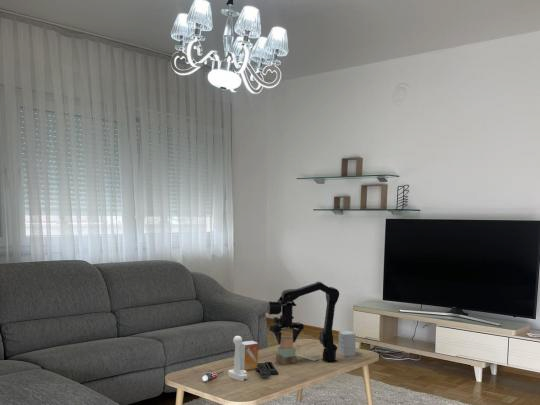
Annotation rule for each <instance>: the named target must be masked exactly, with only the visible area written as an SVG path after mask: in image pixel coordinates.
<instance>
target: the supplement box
mask: <svg viewBox="0 0 540 405" xmlns="http://www.w3.org/2000/svg"><path fill="white" fill-rule="evenodd" d="M338 354H339V355H340V354H341V355H340V356H342V357H343V356H344V357H343V358H346V356H347V357H355V356H356V333H355V332H353V331H351V330H345V331H343V330H342V331H341V330H340V331H338Z"/></svg>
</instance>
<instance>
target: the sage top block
mask: <svg viewBox="0 0 540 405" xmlns="http://www.w3.org/2000/svg"><path fill="white" fill-rule="evenodd" d="M296 350H297V349H296V348H295V347H293V348H292V349H283V348H281V347H280V346H277V354H278V355H280V356H282V357H283V358H286V357H294V356H296V353H297V352H296Z"/></svg>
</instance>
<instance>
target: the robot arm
mask: <svg viewBox="0 0 540 405" xmlns="http://www.w3.org/2000/svg"><path fill="white" fill-rule="evenodd" d="M318 291H321V292H323V293H325V300H326V309H325V317H324V325H323V330H322V331H319V336H318V340H319V343H320V344H321V345H322V347H323V351H322V358H321V361H324V362H325V363H329V364H330V363H335V362H338V360H337V350H338V346H336V344H335V343H334V334H333V324H334V316H335V308H336V304H337V303H338V300H339V297H340V290H338V289H337V288H335V287H333V286H327V285H325V284H324V283H323V282H321V281H316V282H313V283H311V284H308V285H305V286H302V287H298V288H291V289H290V288H289V289H285V290H283V291H281V292H282V293H281V295H280V297H279V298H278V300H277V301H272V300H271V301H268V306H267V314H268V315H270V316H271V315H280V316H279V318H278V316H276V317H275V316H274V317H273V318H272V322H273V324H271V325H270V326H268V327H269V328H268V329H269V331H270V332H272V333H273V334H274V335H275V337H276V342H277V344H278V345H279V346H280V342H281V338H282V332H281V331H282V330H289V329H291V330H292V339H293V344H294V343H295V342H296V341H297V338H298V336H300V333H301V332H302V331H303V330H304V329H305V325H304V324H303V323H301V322H299V321H297V322H293V319H295V317H294V316H293V307H297V304H296V303H295V300H297V299H298V298H301V296H305V295H308V294H312V293H315V292H318Z"/></svg>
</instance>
